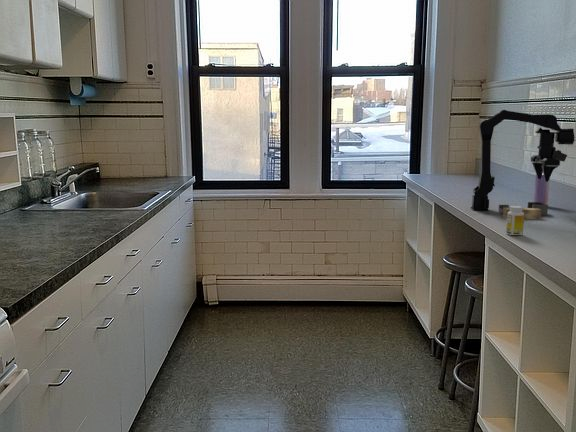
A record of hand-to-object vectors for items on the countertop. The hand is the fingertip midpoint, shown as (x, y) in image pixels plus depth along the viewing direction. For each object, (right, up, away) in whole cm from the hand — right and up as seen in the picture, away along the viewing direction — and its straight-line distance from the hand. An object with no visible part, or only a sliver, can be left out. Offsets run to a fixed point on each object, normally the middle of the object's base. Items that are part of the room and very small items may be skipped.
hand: (543, 180), depth 251 cm
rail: (-14, -17, -11) cm, 24 cm away
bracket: (-4, -15, -3) cm, 15 cm away
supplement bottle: (-29, -22, -43) cm, 56 cm away
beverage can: (+6, -11, +17) cm, 21 cm away
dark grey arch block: (-17, -14, -1) cm, 22 cm away
